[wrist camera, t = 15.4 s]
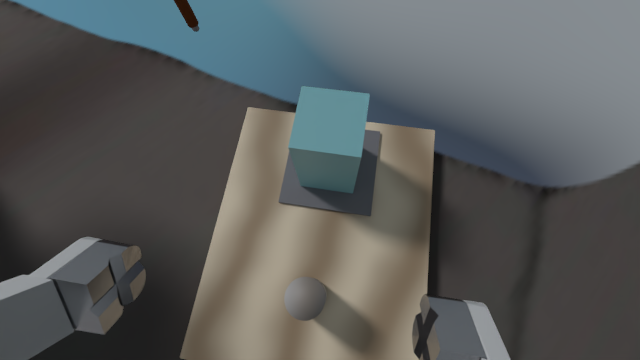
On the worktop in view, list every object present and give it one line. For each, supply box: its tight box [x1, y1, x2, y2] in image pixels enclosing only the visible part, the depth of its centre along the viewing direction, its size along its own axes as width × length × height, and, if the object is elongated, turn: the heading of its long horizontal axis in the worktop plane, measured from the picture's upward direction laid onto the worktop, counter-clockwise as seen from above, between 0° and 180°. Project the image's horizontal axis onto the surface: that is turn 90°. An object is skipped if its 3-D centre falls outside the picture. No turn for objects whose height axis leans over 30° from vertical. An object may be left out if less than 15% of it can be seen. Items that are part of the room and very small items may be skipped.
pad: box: [278, 130, 380, 216], centre depth 27 cm, size 8×8×1 cm
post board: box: [180, 107, 435, 360], centre depth 24 cm, size 18×22×6 cm
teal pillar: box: [288, 86, 370, 194], centre depth 23 cm, size 5×5×8 cm
